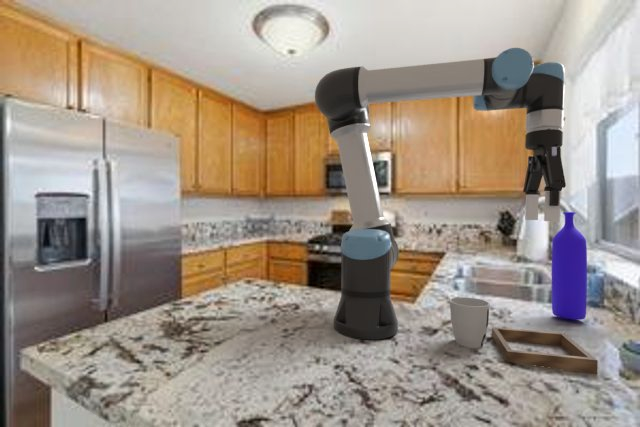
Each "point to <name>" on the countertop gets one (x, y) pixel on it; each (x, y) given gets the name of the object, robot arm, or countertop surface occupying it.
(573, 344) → the tray
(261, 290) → the countertop surface
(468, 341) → the cup
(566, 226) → the bottle
